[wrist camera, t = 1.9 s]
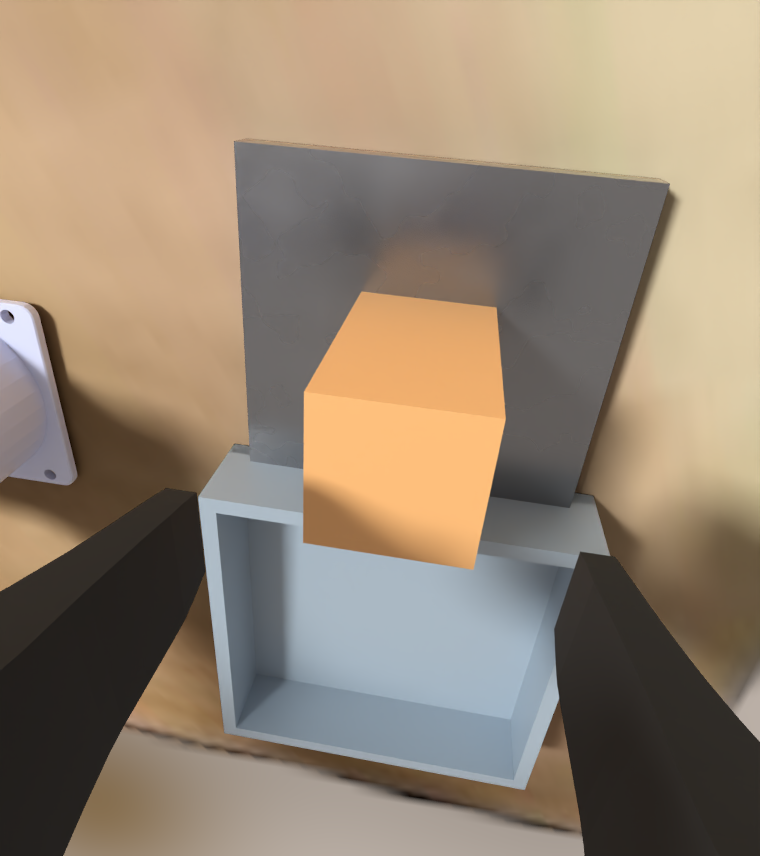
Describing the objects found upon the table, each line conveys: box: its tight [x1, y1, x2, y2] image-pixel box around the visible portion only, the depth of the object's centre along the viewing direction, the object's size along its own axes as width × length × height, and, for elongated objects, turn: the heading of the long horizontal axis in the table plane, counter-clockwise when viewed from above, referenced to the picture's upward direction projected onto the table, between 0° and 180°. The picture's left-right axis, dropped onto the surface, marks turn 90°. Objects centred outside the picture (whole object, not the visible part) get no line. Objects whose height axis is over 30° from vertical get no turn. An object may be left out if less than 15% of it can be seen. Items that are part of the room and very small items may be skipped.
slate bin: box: [198, 444, 610, 790], centre depth 25 cm, size 14×14×4 cm
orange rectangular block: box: [303, 292, 506, 570], centre depth 16 cm, size 4×4×7 cm
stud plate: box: [234, 139, 670, 508], centre depth 17 cm, size 12×12×6 cm
